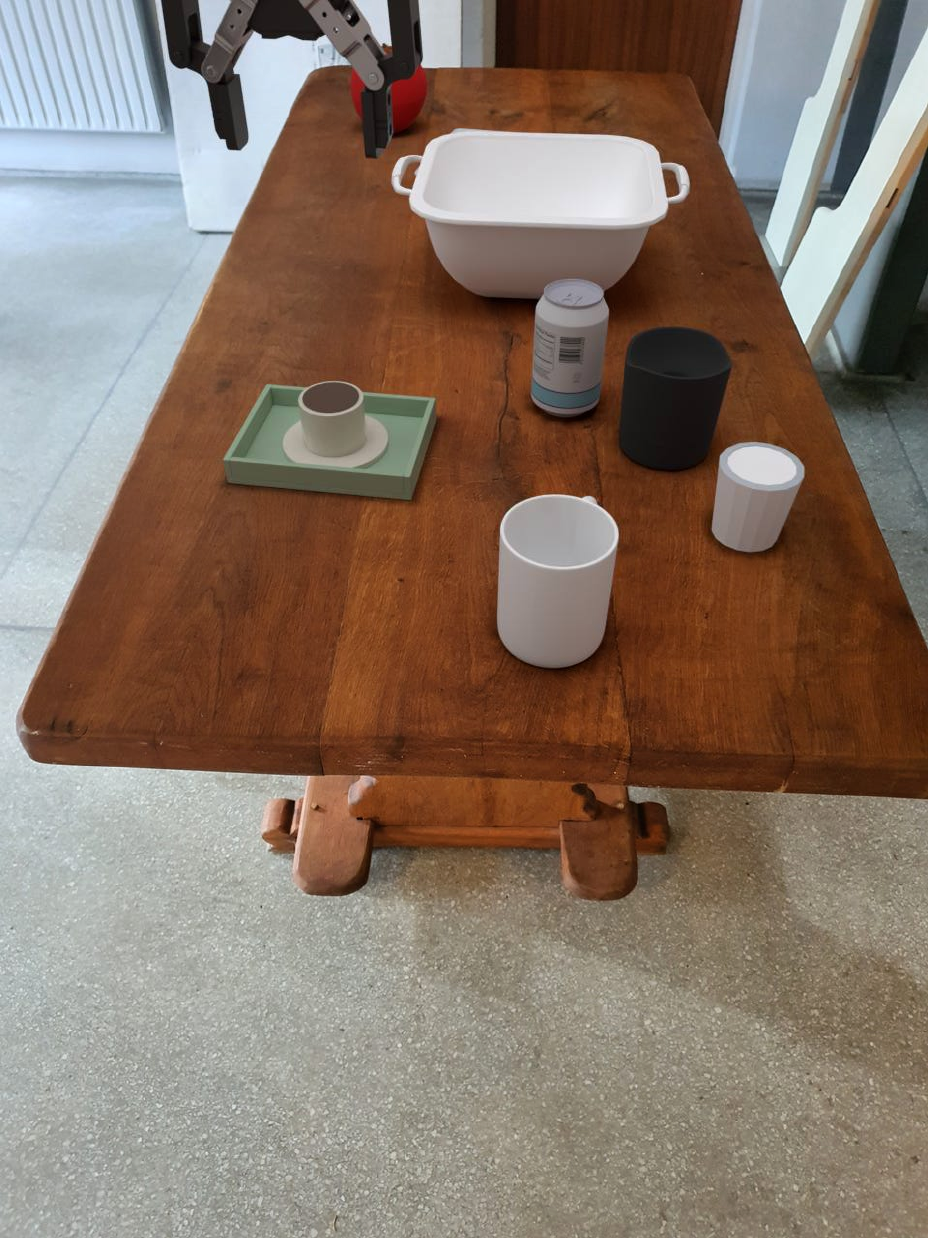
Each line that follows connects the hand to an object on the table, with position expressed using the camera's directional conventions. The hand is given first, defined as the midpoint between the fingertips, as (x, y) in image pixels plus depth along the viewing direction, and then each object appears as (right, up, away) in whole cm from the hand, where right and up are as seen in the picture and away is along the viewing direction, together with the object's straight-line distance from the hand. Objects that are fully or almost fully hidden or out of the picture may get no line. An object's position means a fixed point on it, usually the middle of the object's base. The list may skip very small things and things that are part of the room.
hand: (306, 150), depth 57 cm
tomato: (-3, +53, +99) cm, 112 cm away
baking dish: (+18, +14, +60) cm, 65 cm away
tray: (-3, -12, +33) cm, 36 cm away
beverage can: (+20, -7, +39) cm, 44 cm away
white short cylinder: (+34, -21, +25) cm, 47 cm away
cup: (+17, -28, +17) cm, 37 cm away
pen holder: (+29, -12, +34) cm, 46 cm away
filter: (-3, -12, +33) cm, 35 cm away
